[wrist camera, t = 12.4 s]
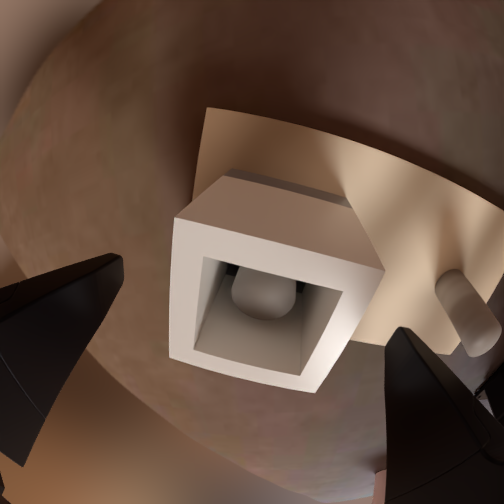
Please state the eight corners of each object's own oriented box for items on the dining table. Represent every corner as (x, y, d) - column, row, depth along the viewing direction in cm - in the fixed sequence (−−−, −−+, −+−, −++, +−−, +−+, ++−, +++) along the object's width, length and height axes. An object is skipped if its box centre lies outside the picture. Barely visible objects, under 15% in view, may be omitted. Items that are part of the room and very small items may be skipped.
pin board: (516, 218, 11) (571, 263, 6) (445, 345, 15) (469, 405, 10) (213, 107, 11) (157, 104, 6) (188, 288, 16) (149, 357, 11)
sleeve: (346, 197, 11) (385, 271, 6) (312, 292, 14) (314, 392, 8) (231, 168, 11) (174, 217, 6) (214, 267, 14) (169, 357, 9)
